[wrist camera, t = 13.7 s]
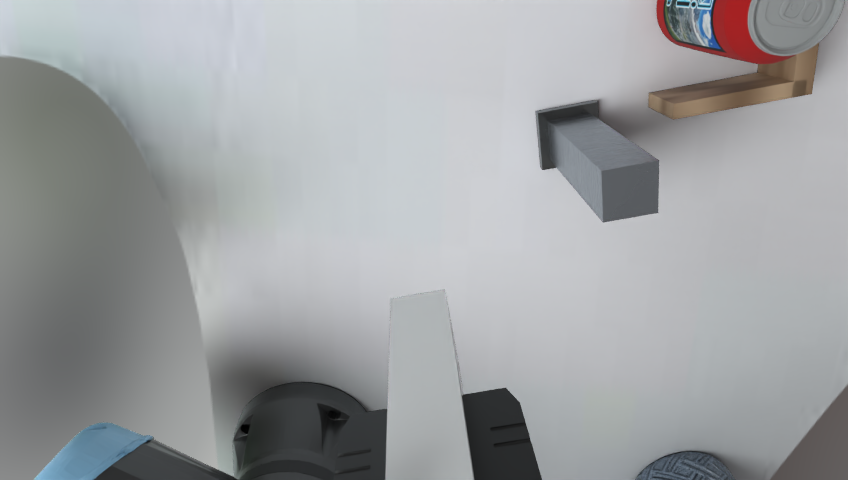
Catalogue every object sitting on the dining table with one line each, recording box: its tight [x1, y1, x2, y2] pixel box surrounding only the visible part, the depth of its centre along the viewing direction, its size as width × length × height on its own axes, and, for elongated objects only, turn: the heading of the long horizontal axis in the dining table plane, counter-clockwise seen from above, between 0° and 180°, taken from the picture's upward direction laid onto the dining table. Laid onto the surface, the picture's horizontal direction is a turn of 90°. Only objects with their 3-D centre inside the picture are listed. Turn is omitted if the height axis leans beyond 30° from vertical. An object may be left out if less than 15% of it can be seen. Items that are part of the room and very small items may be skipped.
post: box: [535, 100, 659, 222], centre depth 39 cm, size 5×5×14 cm
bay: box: [649, 43, 819, 119], centre depth 39 cm, size 10×14×4 cm
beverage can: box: [657, 0, 845, 64], centre depth 36 cm, size 7×7×12 cm
